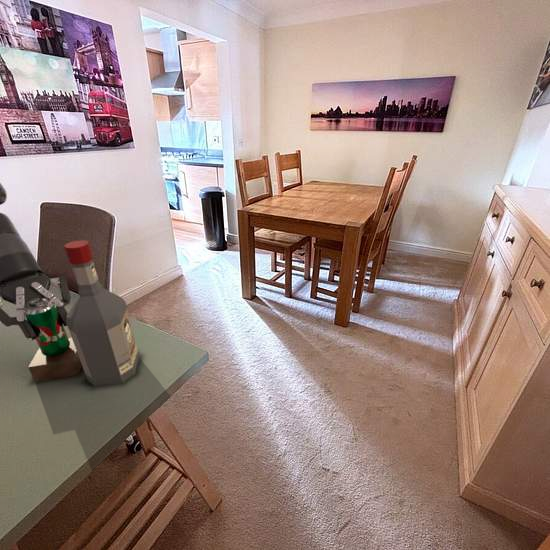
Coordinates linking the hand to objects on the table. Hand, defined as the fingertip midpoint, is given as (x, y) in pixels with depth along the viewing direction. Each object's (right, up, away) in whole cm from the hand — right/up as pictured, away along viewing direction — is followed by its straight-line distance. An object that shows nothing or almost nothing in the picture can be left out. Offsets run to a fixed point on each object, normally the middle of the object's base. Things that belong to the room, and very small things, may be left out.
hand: (51, 331), depth 61 cm
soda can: (-2, -5, +4) cm, 6 cm away
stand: (-2, -9, +6) cm, 11 cm away
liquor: (+10, -10, +6) cm, 15 cm away
